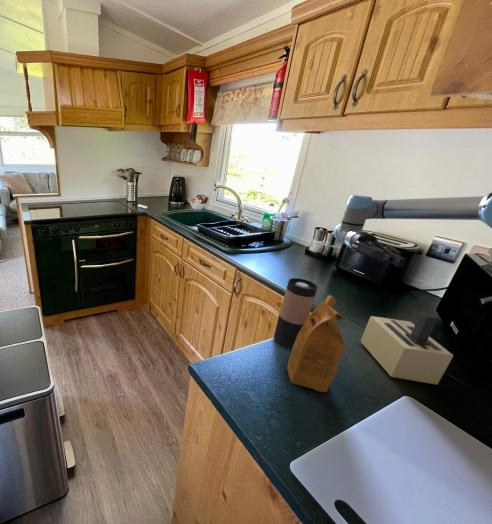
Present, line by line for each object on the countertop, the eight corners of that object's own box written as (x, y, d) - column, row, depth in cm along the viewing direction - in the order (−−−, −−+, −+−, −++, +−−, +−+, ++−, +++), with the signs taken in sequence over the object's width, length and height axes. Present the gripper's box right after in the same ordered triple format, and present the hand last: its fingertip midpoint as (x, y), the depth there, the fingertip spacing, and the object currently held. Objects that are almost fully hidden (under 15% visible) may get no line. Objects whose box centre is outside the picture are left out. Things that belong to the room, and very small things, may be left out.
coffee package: (326, 369, 79) (353, 298, 71) (329, 400, 69) (361, 321, 61) (287, 355, 83) (308, 287, 75) (284, 383, 73) (308, 307, 65)
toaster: (359, 342, 92) (370, 315, 88) (397, 348, 90) (410, 321, 87) (390, 378, 77) (405, 347, 74) (436, 386, 76) (454, 355, 72)
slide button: (405, 334, 79) (416, 310, 76) (419, 337, 78) (431, 312, 76) (415, 343, 75) (427, 318, 72) (430, 345, 75) (443, 320, 72)
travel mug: (268, 333, 93) (283, 277, 86) (292, 335, 93) (309, 279, 86) (278, 348, 86) (295, 288, 79) (304, 350, 86) (323, 290, 79)
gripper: (376, 253, 108) (421, 277, 86) (339, 249, 110) (373, 271, 88) (383, 233, 105) (432, 253, 83) (345, 229, 107) (382, 248, 85)
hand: (402, 263), depth 86 cm, fingers closed
